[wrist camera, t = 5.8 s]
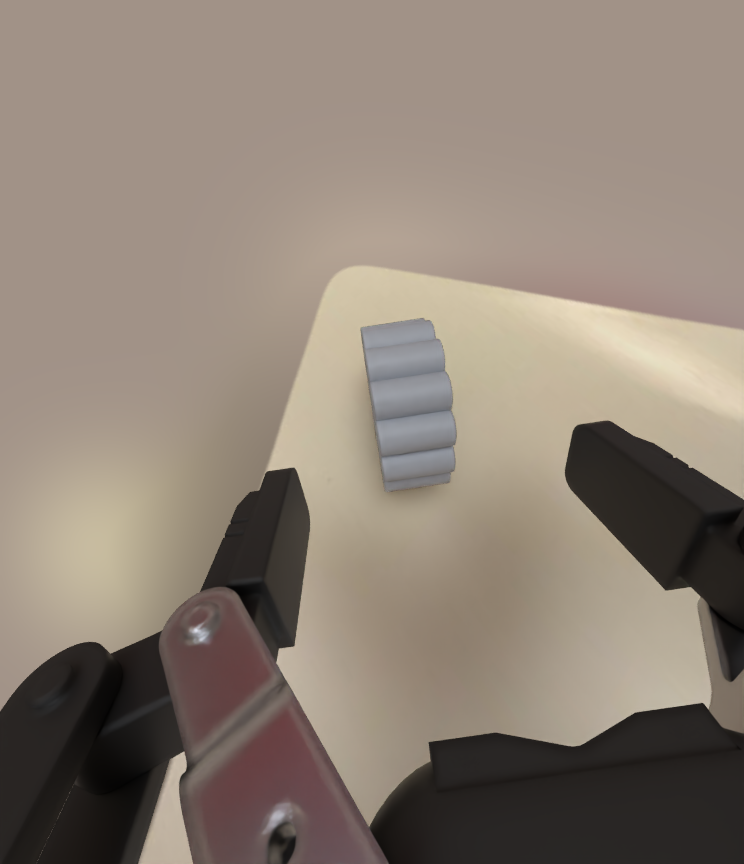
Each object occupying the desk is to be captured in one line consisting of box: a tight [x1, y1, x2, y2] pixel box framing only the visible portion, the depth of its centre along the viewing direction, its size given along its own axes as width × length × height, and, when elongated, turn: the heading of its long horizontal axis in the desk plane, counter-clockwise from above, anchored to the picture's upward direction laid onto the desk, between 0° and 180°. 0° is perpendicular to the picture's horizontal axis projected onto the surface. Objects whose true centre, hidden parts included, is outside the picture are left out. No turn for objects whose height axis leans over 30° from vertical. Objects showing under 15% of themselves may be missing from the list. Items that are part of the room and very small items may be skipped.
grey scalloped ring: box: [361, 318, 456, 492], centre depth 16 cm, size 3×8×8 cm, turn 8°
